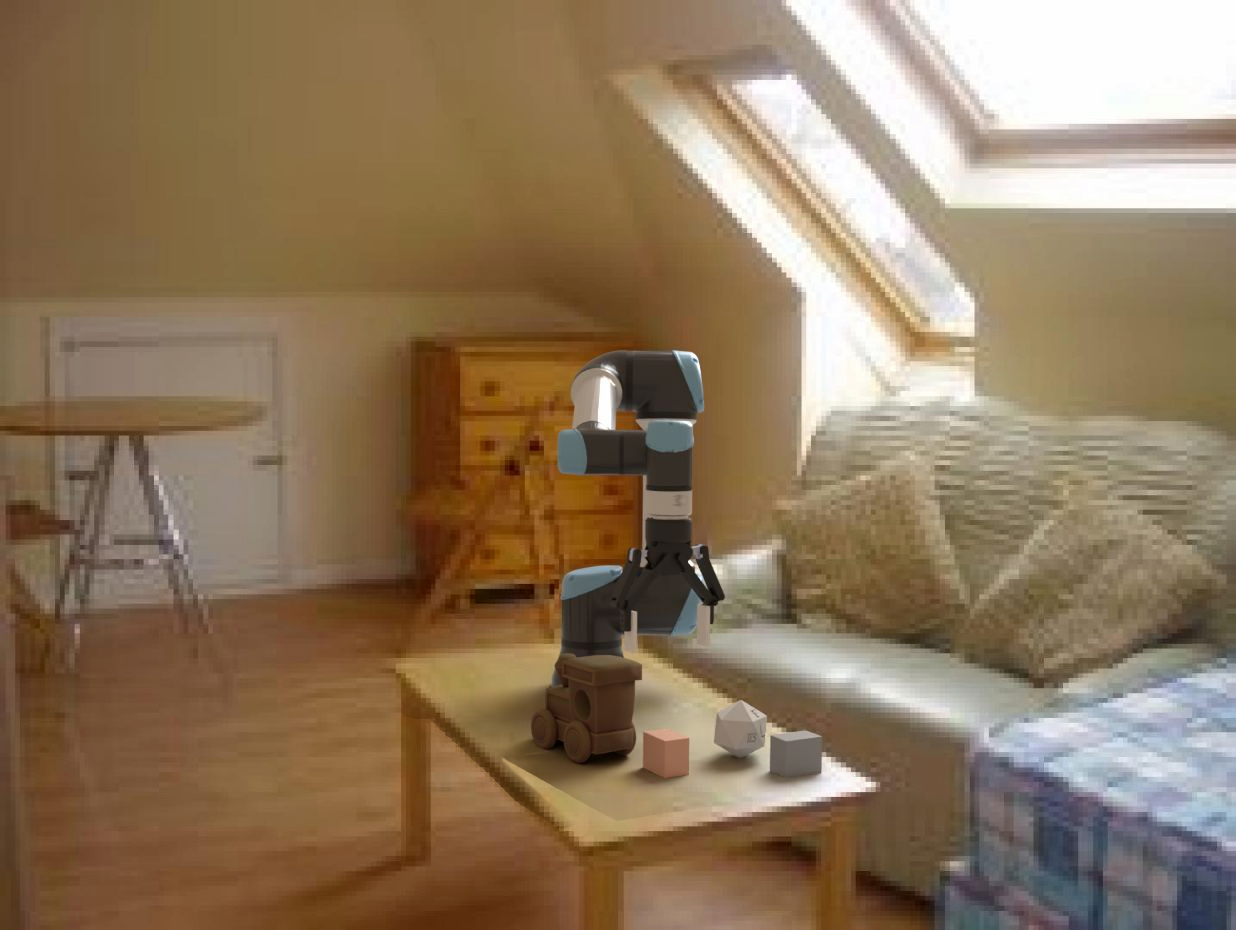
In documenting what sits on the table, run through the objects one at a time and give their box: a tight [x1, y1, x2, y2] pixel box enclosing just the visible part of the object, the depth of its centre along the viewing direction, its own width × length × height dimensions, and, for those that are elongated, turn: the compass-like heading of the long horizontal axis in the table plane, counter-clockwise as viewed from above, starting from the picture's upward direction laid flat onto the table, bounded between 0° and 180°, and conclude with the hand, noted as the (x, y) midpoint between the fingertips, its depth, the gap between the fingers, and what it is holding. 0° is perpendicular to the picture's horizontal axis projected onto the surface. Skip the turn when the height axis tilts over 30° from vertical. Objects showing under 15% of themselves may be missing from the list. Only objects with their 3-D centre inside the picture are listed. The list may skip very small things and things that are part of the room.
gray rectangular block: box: [769, 730, 823, 779], centre depth 243 cm, size 4×7×6 cm, turn 119°
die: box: [713, 699, 768, 759], centre depth 251 cm, size 8×9×10 cm
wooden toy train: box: [530, 653, 643, 764], centre depth 254 cm, size 20×11×17 cm, turn 35°
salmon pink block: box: [642, 728, 690, 779], centre depth 243 cm, size 7×4×6 cm, turn 29°
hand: (667, 648), depth 242 cm, fingers open, 13 cm apart
